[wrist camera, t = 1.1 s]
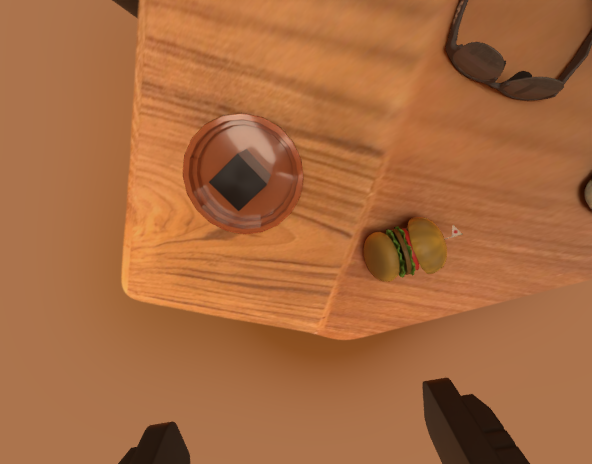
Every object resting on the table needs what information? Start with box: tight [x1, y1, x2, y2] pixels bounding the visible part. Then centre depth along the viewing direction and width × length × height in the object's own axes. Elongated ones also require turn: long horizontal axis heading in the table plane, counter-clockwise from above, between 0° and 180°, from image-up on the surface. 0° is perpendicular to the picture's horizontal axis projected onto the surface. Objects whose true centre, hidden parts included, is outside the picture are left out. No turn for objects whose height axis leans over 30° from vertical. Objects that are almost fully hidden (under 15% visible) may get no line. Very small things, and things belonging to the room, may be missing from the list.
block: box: [209, 149, 271, 211], centre depth 36 cm, size 4×4×7 cm
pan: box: [183, 113, 303, 234], centre depth 38 cm, size 14×14×4 cm
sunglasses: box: [446, 0, 592, 101], centre depth 33 cm, size 16×17×5 cm
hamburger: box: [364, 217, 463, 282], centre depth 40 cm, size 8×7×12 cm
